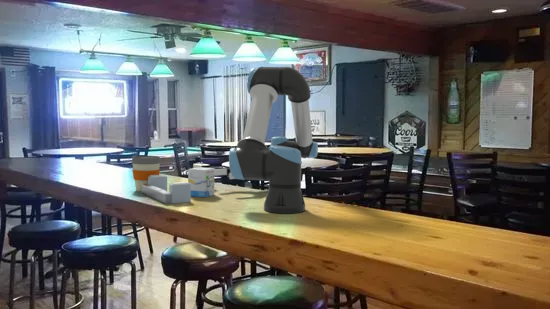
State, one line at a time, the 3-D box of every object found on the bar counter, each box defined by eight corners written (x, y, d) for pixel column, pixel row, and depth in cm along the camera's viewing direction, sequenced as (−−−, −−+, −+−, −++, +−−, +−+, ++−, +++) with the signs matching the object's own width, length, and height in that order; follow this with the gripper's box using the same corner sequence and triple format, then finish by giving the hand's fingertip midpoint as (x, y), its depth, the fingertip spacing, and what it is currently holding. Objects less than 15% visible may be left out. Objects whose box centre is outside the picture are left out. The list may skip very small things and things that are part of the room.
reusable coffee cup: (150, 192, 221) (150, 158, 220) (126, 191, 225) (125, 157, 224) (165, 189, 233) (165, 156, 232) (142, 187, 237) (142, 155, 236)
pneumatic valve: (203, 189, 234) (203, 163, 233) (191, 186, 243) (191, 161, 242) (213, 188, 237) (213, 162, 236) (201, 185, 246) (201, 160, 245)
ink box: (205, 197, 211) (205, 169, 210) (187, 196, 214) (187, 168, 213) (214, 194, 218) (215, 167, 218) (197, 193, 221) (197, 166, 221)
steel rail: (171, 203, 196) (171, 193, 195) (164, 204, 194) (164, 193, 194) (147, 192, 221) (147, 183, 221) (141, 193, 220) (141, 183, 219)
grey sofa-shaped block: (190, 201, 200) (190, 182, 199) (172, 203, 196) (172, 183, 195) (164, 191, 225) (164, 174, 225) (148, 192, 221) (148, 175, 221)
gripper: (277, 182, 224) (236, 186, 212) (246, 176, 244) (207, 179, 232) (277, 165, 224) (236, 168, 211) (246, 160, 244) (207, 163, 231)
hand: (221, 174), depth 221 cm, fingers open, 13 cm apart
